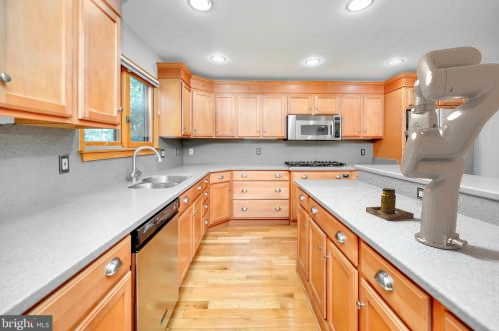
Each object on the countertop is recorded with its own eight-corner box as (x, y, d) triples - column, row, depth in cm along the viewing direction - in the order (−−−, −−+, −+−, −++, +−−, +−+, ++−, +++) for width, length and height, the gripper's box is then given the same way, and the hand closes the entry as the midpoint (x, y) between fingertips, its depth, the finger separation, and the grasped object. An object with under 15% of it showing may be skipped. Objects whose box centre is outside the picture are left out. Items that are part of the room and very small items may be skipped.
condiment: (378, 210, 115) (379, 187, 114) (397, 212, 112) (399, 188, 111) (381, 214, 108) (382, 189, 107) (402, 216, 105) (403, 191, 104)
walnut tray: (413, 218, 106) (413, 213, 105) (388, 220, 103) (388, 215, 102) (388, 210, 119) (389, 205, 119) (365, 211, 116) (366, 207, 116)
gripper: (399, 112, 106) (397, 149, 107) (438, 106, 89) (435, 149, 91) (412, 113, 108) (410, 149, 109) (452, 106, 91) (449, 149, 92)
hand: (421, 149), depth 100 cm, fingers open, 9 cm apart
